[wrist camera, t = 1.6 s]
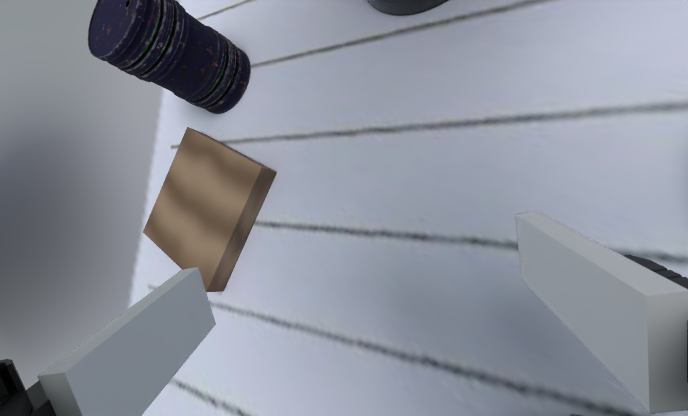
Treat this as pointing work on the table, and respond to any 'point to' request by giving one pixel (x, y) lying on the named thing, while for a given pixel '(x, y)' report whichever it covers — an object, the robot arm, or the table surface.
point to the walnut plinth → (208, 207)
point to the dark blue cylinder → (170, 51)
